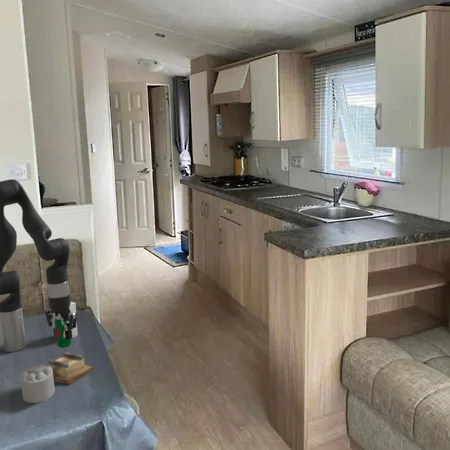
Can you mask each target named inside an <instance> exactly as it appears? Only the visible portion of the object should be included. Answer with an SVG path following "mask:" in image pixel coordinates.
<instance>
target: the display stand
mask: <svg viewBox="0 0 450 450" xmlns="http://www.w3.org/2000/svg"><path fill="white" fill-rule="evenodd" d="M62 354H63V355H62V356H61V357H59V358H57V359H50V360H47V361H48V363H47V365H49V366H51V367H52V370H53V378H54V382H56V383H61V384H64V385H65V384H66V385H69V386H70V385H72V384H73V383H76V382H77V381H78V380H80V379H81V378H84V377H85V376H86V375H88V374H89V373H92V372H93V371H94V366H91V365H88V364H85V358H84V355H81V354H76V353H71V352H67V351H64V352H63V353H62ZM84 375H85V376H84Z"/></svg>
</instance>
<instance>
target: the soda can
mask: <svg viewBox="0 0 450 450" xmlns="http://www.w3.org/2000/svg"><path fill="white" fill-rule="evenodd" d="M68 320H69V319H67V320H65V322H67V321H68ZM54 322H55V331H56V338H55V339H56V346H57V347H58V348H60V349H64V348H68V347H70V346H71V344H72V339H70V340H66V334H65V331H66V330H65V327H64V325H62V323H61V319H60V318H59V316H58V315H57V316H55V318H54ZM67 326H68V324H67ZM68 327H69V326H68Z"/></svg>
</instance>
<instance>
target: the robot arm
mask: <svg viewBox="0 0 450 450" xmlns="http://www.w3.org/2000/svg"><path fill="white" fill-rule="evenodd" d="M16 204H18V205H19V206H20V207H21V212H22V215H21V221H22V225H23V228H24V230H25V232H26V233H27V235H28V236H29V237H30V238H31V239H32V240H33V244H34V245H35V248H36V251H37V253H38V255H39V258H41V259H43V260H44V261H47V262H49V261H54V262H53V263H52V264H51V265H49V266H48V267H47V268H46V270H45V273H46V284H47V286H46V290H47V292H46V293H47V300H48V307H49V309H46V310H44V313H45V317H46V321H47V324H48V326H49V327H51V328H52V329H53V336H55V337H54V338H55V339H56V331H55V322H54V318H55V316H57V315H58V316H59V318H60V319H61V323H62V325H64V327H65V330H66V331H65V334H66V340H70V339H71V340H72V339H73V338H72V329H74V328H76V321H77V320H78V314H77V312H76V313H72V312H71V311H70V309H69V307H70V305H71V302H72V301H71V294H70V286H69V281H68V280H69V279H68V263H69V259H70V249H71V248H70V245H69V243H68V241H67V240H66V239H65V238H63V237H62V238H61V237H58V238H54V239H50V238H51V237H52V234H53V233H52V229H51V228H50V226H49V225H48V224H47V223H46V222H45V220H44V219H43V218H42V217H41V216H40V214H39V213H38V212H37V209H36V208H35V206H34V204H33V203H32V201H31V199H30V197H29V196H28V194H27V192H26V191H25V189H24V187H23V185H22V184H21V183H20V182H19V181H18V180H16V179H6V180H2V181H1V180H0V296H3V295H8V294H9V295H8V296H7V297H6V298H5V299H3V300H2V301H0V349H1V350H2V351H3V352H5V353H12V352H17V351H21V350H23V349H25V348H26V347H27V341H26V334H25V325H24V316H23V315H24V314H23V309H22V297H21V281H20V277H19V274H18V272H17V271H16V270H8V271H4V267H5V266H6V265H7V263H8V262H9V260H10V259H11V257H13V255H14V254H15V252H16V250H17V247H18V246H17V245H18V244H17V240H18V238H17V237H18V235H17V231H16V229H15V227H14V226H13V225H12V224H11V223H10V222H9V220H8V219H7V218H6V215H5V207H6V206H10V205H11V206H12V205H16ZM67 319H69V320H68V321H67V322H65V320H67ZM67 324H68V326H69V327H68V326H67ZM72 324H73V325H72Z"/></svg>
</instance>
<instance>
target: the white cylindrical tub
mask: <svg viewBox="0 0 450 450" xmlns="http://www.w3.org/2000/svg"><path fill="white" fill-rule="evenodd" d="M19 378H20V385H21V394H22V400H23V401H25V402H27V403H30V404H38V403H43V402H45V401H47V400H48V399H51V397H52V396H53V395H54V394H55V390H56V389H55V381H54V378H53V370H52V367H51V366H49V365H48V364H47V365H45V364H39V365H34V366H29V367H27V368H26V369H24V370H23V371H21V372H20V377H19Z"/></svg>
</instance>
